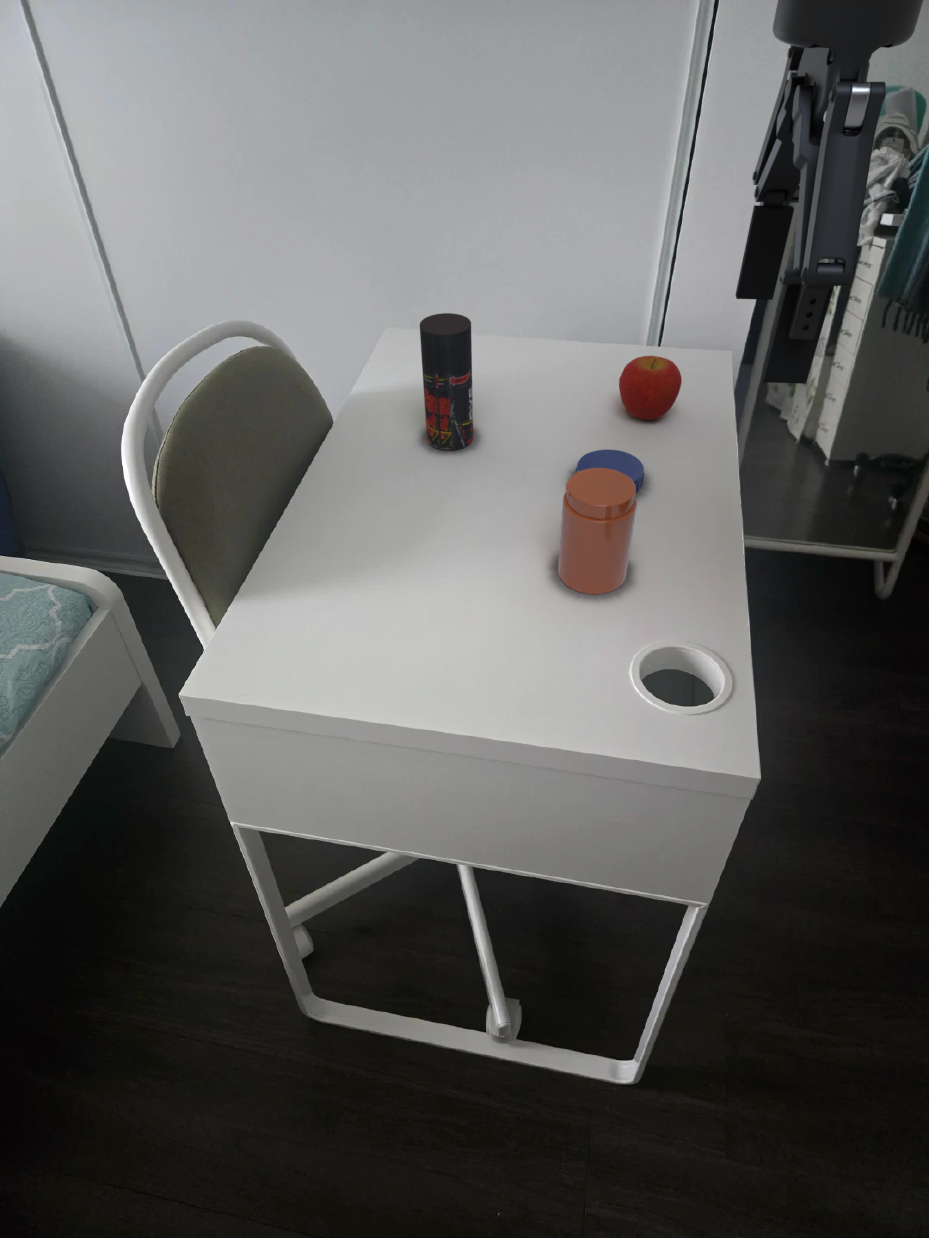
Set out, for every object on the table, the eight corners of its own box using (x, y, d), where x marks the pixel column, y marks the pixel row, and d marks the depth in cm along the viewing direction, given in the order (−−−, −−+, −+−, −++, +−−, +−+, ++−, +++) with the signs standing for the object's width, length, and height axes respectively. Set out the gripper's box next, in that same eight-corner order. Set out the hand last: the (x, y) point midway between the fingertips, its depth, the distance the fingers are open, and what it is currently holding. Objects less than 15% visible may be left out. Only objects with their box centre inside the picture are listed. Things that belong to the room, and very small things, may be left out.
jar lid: (588, 504, 92) (589, 490, 91) (567, 467, 98) (568, 454, 97) (652, 494, 93) (654, 480, 92) (627, 458, 99) (629, 445, 98)
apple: (667, 398, 110) (676, 343, 104) (682, 428, 104) (692, 371, 99) (610, 401, 109) (617, 346, 104) (622, 431, 104) (629, 374, 98)
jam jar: (615, 547, 86) (627, 462, 79) (634, 590, 81) (648, 504, 74) (551, 554, 86) (557, 469, 79) (566, 598, 81) (573, 511, 74)
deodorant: (425, 428, 105) (418, 314, 95) (471, 425, 106) (468, 311, 95) (428, 452, 101) (420, 336, 91) (475, 449, 101) (473, 333, 91)
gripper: (755, -65, 53) (697, 269, 67) (839, -20, 35) (735, 422, 49) (875, -67, 52) (790, 271, 66) (1025, -23, 34) (864, 427, 48)
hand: (767, 336), depth 58 cm, fingers open, 13 cm apart
